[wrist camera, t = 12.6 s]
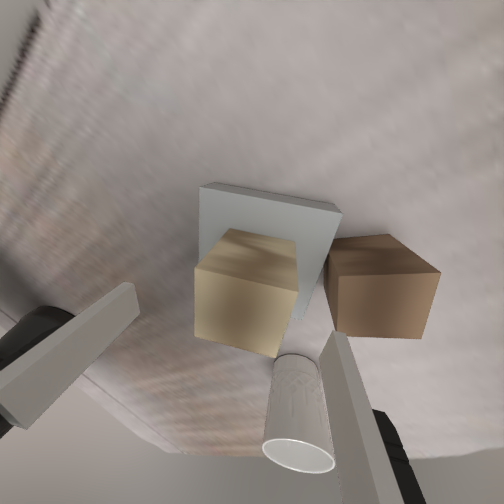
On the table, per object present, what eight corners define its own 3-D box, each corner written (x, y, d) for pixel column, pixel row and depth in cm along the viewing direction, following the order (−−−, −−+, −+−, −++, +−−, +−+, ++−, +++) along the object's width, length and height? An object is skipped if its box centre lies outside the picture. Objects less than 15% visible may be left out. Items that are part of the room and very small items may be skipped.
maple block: (224, 280, 19) (194, 336, 13) (229, 228, 17) (194, 267, 10) (279, 293, 19) (275, 358, 13) (294, 241, 16) (298, 292, 10)
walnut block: (323, 286, 22) (336, 335, 15) (323, 239, 19) (338, 276, 13) (381, 284, 20) (421, 339, 14) (388, 233, 18) (441, 272, 12)
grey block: (211, 275, 25) (198, 294, 21) (216, 182, 19) (199, 186, 16) (300, 296, 23) (301, 320, 20) (332, 203, 18) (343, 213, 14)
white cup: (285, 343, 27) (282, 431, 18) (332, 366, 27) (351, 463, 18) (262, 369, 31) (251, 452, 22) (304, 388, 31) (309, 478, 22)
